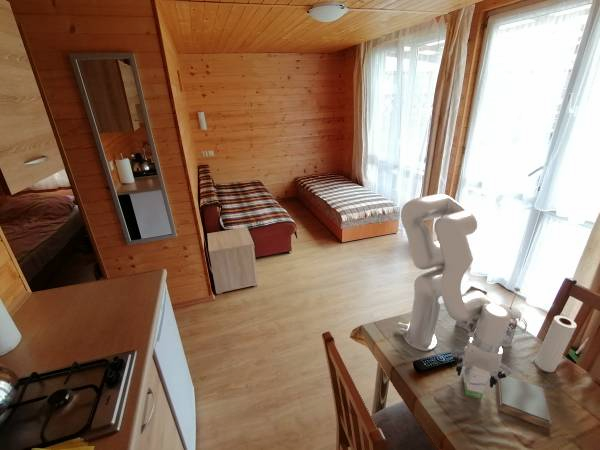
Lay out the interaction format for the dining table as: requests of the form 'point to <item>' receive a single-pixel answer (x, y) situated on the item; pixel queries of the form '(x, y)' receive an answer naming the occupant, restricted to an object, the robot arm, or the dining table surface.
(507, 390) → the stand
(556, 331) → the paper towel roll
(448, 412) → the dining table surface
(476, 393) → the ink box
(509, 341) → the french press
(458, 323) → the coffee box
